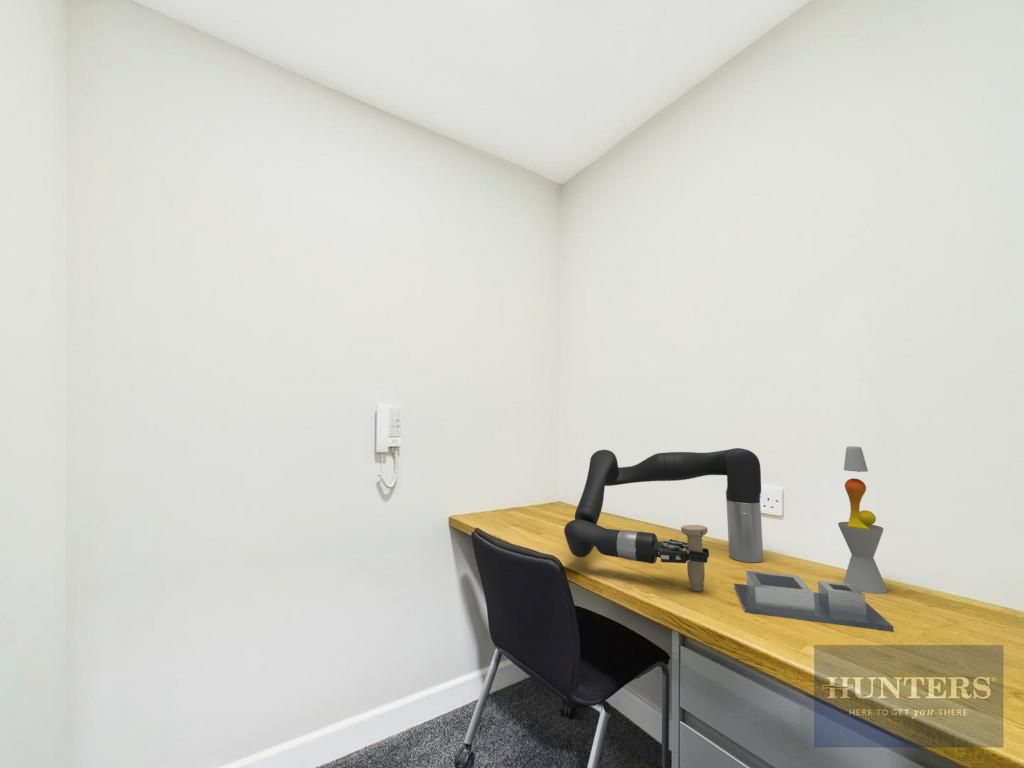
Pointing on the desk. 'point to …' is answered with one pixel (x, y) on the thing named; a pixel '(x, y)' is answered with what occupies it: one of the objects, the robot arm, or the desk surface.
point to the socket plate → (808, 601)
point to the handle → (695, 544)
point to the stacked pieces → (860, 531)
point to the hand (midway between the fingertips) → (707, 555)
